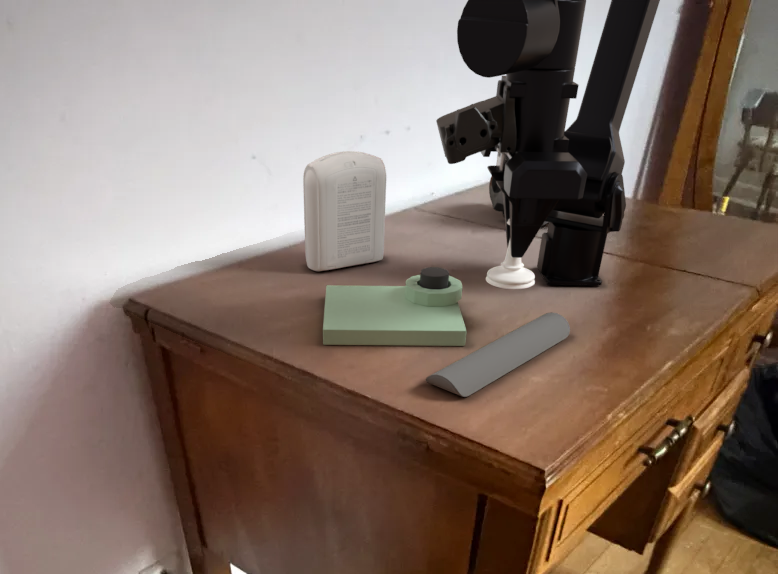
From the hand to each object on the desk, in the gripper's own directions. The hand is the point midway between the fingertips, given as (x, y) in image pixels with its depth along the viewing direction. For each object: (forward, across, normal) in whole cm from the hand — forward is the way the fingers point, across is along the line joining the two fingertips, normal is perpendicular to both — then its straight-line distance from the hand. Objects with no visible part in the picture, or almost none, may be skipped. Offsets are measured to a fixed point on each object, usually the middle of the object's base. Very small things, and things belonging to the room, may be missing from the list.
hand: (514, 253), depth 71 cm
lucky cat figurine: (+7, -39, +12) cm, 41 cm away
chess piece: (+3, 0, 0) cm, 3 cm away
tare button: (+4, -3, -8) cm, 9 cm away
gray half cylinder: (+7, +9, -2) cm, 12 cm away
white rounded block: (+7, -18, -17) cm, 26 cm away
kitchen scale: (+7, 0, -12) cm, 14 cm away
